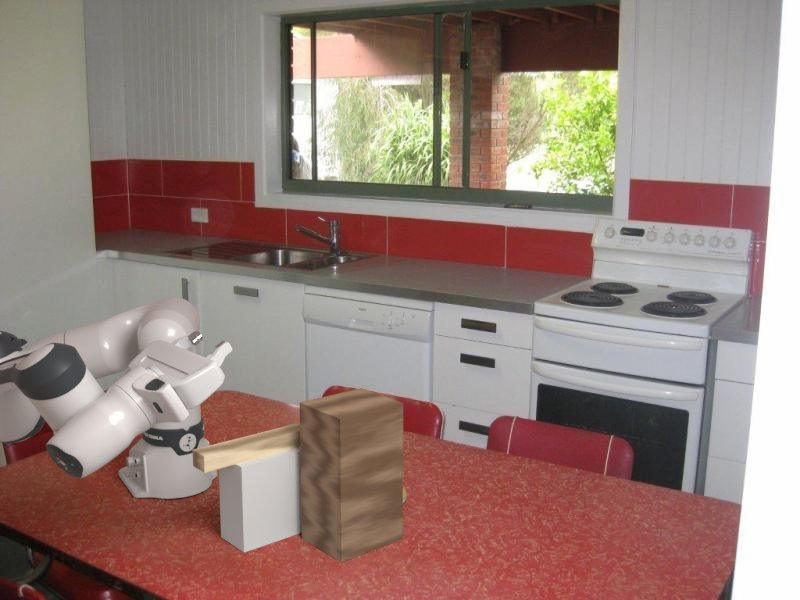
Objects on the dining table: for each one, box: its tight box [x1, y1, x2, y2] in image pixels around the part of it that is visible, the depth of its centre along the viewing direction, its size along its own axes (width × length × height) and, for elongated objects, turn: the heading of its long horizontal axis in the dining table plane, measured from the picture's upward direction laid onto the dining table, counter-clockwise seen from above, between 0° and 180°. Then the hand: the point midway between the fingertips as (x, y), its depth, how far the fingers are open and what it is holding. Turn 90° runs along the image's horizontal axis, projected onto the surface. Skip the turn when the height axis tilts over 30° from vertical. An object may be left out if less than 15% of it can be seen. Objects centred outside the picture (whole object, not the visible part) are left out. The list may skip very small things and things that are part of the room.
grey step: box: [218, 447, 302, 553], centre depth 170 cm, size 8×15×16 cm, turn 131°
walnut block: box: [299, 387, 404, 563], centre depth 167 cm, size 12×14×26 cm
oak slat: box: [192, 422, 300, 473], centre depth 166 cm, size 4×22×3 cm, turn 131°
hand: (213, 339), depth 150 cm, fingers open, 8 cm apart
